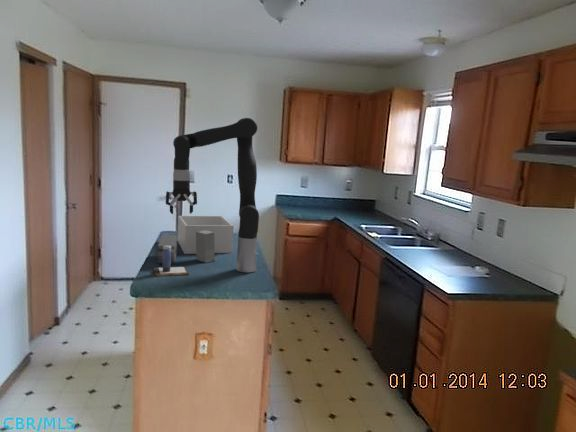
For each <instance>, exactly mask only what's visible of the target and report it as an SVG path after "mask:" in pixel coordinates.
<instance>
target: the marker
mask: <svg viewBox="0 0 576 432" xmlns="http://www.w3.org/2000/svg"><path fill="white" fill-rule="evenodd" d="M170 267H172V264H171V246H168V245H165V246H163V261H162V265H161V268H163V272H170Z"/></svg>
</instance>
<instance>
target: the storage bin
mask: <svg viewBox="0 0 576 432" xmlns="http://www.w3.org/2000/svg"><path fill="white" fill-rule="evenodd" d="M177 220H178V221H177V224H178V225H177V244H179V246H180V248H181V250H182V252H183V253H184V255H191V254H193V255H194V254H195V255H196V232H198V231H204V230H206V231H210V232H214V247H215V254H232V253H233V245H234V228H235V227H234V226H235V225H234V224H232V223H231V222H230V221H229V220H228V219H226V218H225V217H224V216H222V215H221V216H220V215H218V216H217V215H178V219H177Z"/></svg>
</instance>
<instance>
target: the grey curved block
mask: <svg viewBox="0 0 576 432" xmlns="http://www.w3.org/2000/svg"><path fill="white" fill-rule="evenodd" d="M165 245H168V246H171V265H174V264H176V263H175V262H176V259H177V251H178V250H177V249H178V234H174V235H173V234H162V236H161V237H160V240H159V242H158V244H157V262H158V264H160V265H161V264H162V261H163V246H165Z"/></svg>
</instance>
